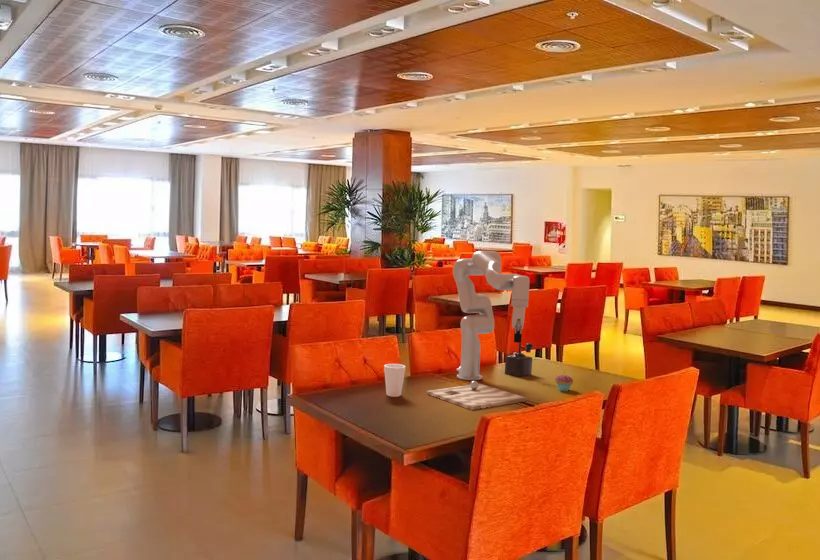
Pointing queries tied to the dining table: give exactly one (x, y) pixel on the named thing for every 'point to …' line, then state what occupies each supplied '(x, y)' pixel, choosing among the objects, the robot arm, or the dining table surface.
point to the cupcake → (564, 382)
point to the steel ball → (474, 385)
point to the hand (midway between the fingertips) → (517, 340)
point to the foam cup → (394, 379)
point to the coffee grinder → (519, 362)
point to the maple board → (476, 396)
